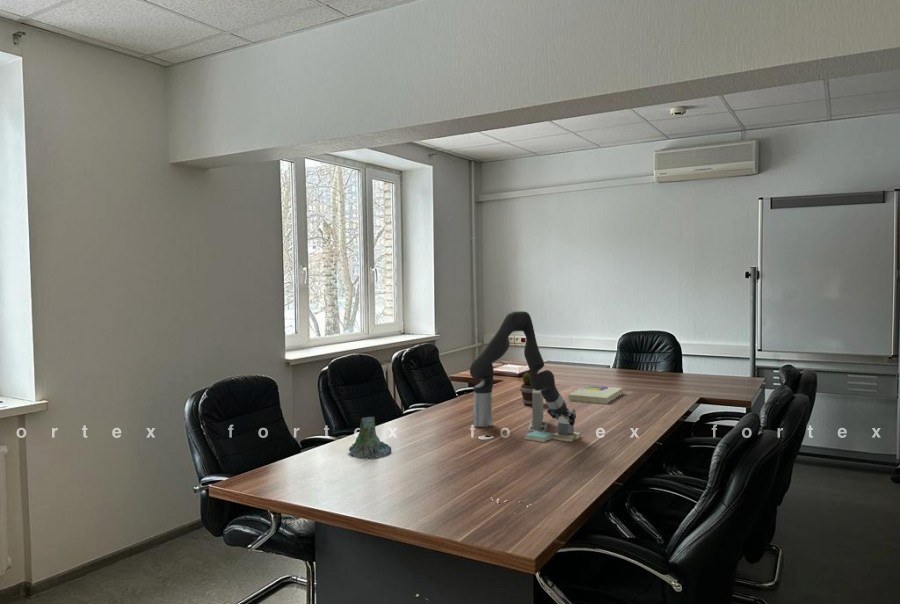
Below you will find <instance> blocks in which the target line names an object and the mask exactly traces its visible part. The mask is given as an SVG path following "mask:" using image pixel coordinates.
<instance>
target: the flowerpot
mask: <svg viewBox="0 0 900 604" xmlns="http://www.w3.org/2000/svg"><path fill="white" fill-rule="evenodd" d="M521 380H522V382H523V383H522V384H521V385H520V387H519V391H520V392H521V396H522V400H521V401H522V403H523V404H524V405H525V406H528V405H531V407H532V392H533V387H532V385H531V381H530V372H527V371H526V372H525V371H524V373H523V374H522V377H521Z"/></svg>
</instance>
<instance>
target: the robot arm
mask: <svg viewBox="0 0 900 604" xmlns="http://www.w3.org/2000/svg"><path fill="white" fill-rule="evenodd" d="M514 332H523V334H524V336H525V345H524V349H523V352H524V358H525V360H526V363H527V365H528V369H529V375H530V381H531V385H532V387H533V389H535V390H536V391H539V390H541V394H542V396H543V400H545V403H546V405H547V406H548V408H547V410H546V413H548V415H550V417H551V418H553V419H555V420H557V421H558V418H559V416H563V417H564V418H565V419H568V420H569V422H570V423H571V425H575V423H576V417H577V414H576V410H575V409H571V410H572V411H569V408H568V407H567V403H566V402H565V399H564V398H563V396H562V394H561V393H560V392H559V391H558V388H557V386H556V382H555V381H556V379H555V375H554V374H553V372H552V371H551V370H548V369H546V370H544V371H541V372H539V371H540V370H542V369H543V368H544V367H545V362H544V360H543V357H542V354H541V351H540V349H539V346H538V343H537V339H536V334H535V329H534V325H533V320H532V317H531V315H530V314H529V312H527V311H522V310H521V311H520V310H519V311H518V310H517V311H516V310H515V311H514V310H513V311H511V312H508V314H506V316H505V318H504V319H503V321H502V323H501V325H500V327H499V329H497V332H496V333H495V334H494V336H493V337H492V338H491V340H490V341H489V342H488V344H487V346H486V347H485V348H484V349H483V351H482V352H481V353H480V355H479V356H477V358H476V359H475V360H473V362H472V363H471V365H470V368H469V374H470V375H469V376H470V377H471V378H472V379H475V380H480V382H479V383H478V384H476V385H474V387H473V406H472V410H473V412H472V416H473V426H474V427H479V428H487V427H488V426H489V427H493V425H492V424H493V421H494V420H493V387H494V366H493V363H495V362H496V361H498V360H500V359H501V358H502V357H503V356H504V355H505V354H506V353H507V352H508V350H509V348H510V338H509V336H510V335H511V334H512V333H514ZM567 414H568V416H567ZM569 416H570V418H569ZM489 427H488V428H489Z"/></svg>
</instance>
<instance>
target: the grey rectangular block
mask: <svg viewBox="0 0 900 604" xmlns="http://www.w3.org/2000/svg"><path fill="white" fill-rule="evenodd" d="M568 409H569V408H568ZM572 410H573V409H569V411H572ZM567 416H568V414H567ZM569 418H570V416H569ZM574 425H575V424H574ZM574 425H571V423H570V422H569V420H568V419H565V418H564V417H563V416H559V418H558V420H557V428H558V429H557V432H558V434H559V435H565V436H569V435H571V434H573V433H574V432H575V430H574V428H575V427H574Z"/></svg>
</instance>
